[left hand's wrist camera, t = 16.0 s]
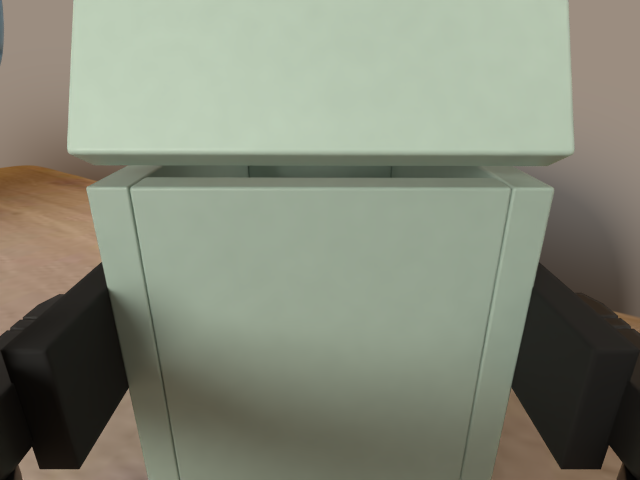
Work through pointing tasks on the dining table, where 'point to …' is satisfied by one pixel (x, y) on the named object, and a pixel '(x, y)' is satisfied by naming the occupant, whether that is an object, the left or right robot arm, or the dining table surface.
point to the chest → (320, 315)
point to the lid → (321, 82)
